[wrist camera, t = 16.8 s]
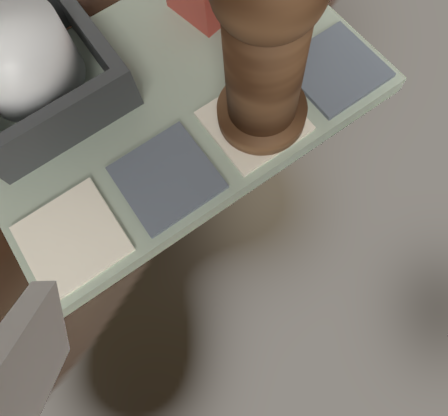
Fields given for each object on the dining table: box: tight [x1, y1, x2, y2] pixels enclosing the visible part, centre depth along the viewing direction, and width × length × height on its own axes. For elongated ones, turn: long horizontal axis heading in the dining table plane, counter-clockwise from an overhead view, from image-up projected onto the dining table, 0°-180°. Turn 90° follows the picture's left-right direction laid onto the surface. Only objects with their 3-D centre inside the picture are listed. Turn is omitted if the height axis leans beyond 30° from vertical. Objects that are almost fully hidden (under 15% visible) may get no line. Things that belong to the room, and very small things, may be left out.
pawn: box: [209, 0, 330, 156], centre depth 17 cm, size 5×5×11 cm
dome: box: [0, 0, 86, 122], centre depth 22 cm, size 6×6×4 cm
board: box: [0, 0, 407, 318], centre depth 23 cm, size 17×24×4 cm
